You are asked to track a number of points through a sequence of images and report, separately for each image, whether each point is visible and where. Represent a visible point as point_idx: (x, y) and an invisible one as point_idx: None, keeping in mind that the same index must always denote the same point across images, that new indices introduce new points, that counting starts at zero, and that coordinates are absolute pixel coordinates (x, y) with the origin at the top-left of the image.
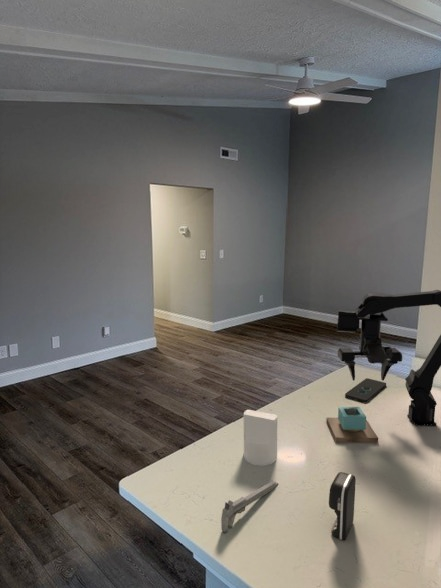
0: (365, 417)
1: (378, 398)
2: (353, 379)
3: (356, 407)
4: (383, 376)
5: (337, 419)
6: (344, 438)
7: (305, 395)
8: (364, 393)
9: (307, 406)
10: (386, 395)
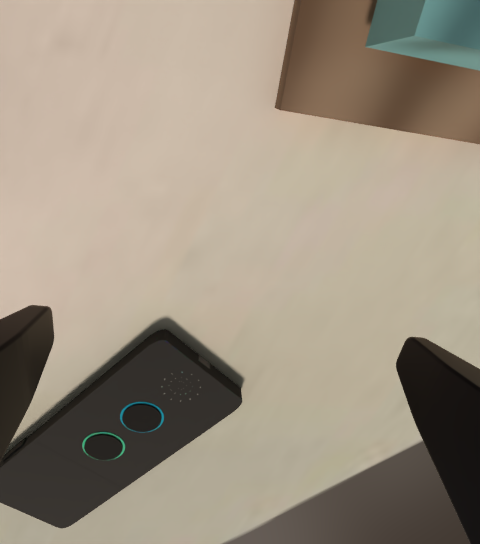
0: None
1: (70, 368)
2: (431, 343)
3: (451, 27)
4: (11, 333)
5: (467, 113)
6: None
7: None
8: (136, 404)
9: (471, 319)
10: None
